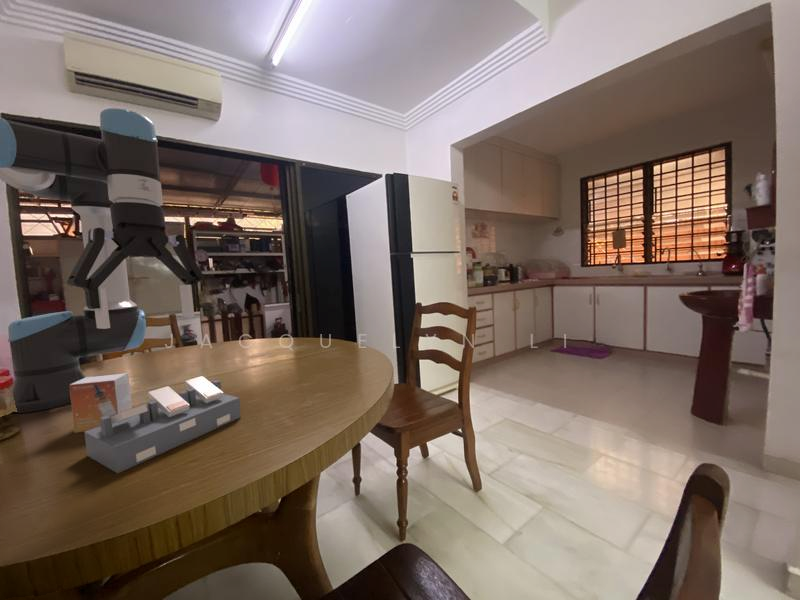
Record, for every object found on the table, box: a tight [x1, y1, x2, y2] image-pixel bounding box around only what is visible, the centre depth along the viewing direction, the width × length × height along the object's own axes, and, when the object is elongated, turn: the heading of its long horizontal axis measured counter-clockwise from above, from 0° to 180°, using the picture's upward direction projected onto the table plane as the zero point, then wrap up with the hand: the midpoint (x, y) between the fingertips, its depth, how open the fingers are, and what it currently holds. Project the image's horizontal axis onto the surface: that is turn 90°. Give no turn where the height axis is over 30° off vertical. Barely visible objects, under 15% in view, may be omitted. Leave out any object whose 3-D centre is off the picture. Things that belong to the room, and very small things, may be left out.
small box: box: [69, 372, 133, 434], centre depth 70 cm, size 8×6×10 cm
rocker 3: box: [184, 375, 224, 403], centre depth 70 cm, size 8×4×1 cm, turn 62°
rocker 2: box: [147, 385, 190, 417], centre depth 64 cm, size 8×4×1 cm, turn 62°
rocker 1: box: [111, 404, 148, 424], centre depth 58 cm, size 8×4×1 cm, turn 61°
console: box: [83, 380, 242, 474], centre depth 64 cm, size 12×22×8 cm, turn 152°
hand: (150, 322), depth 59 cm, fingers open, 13 cm apart
